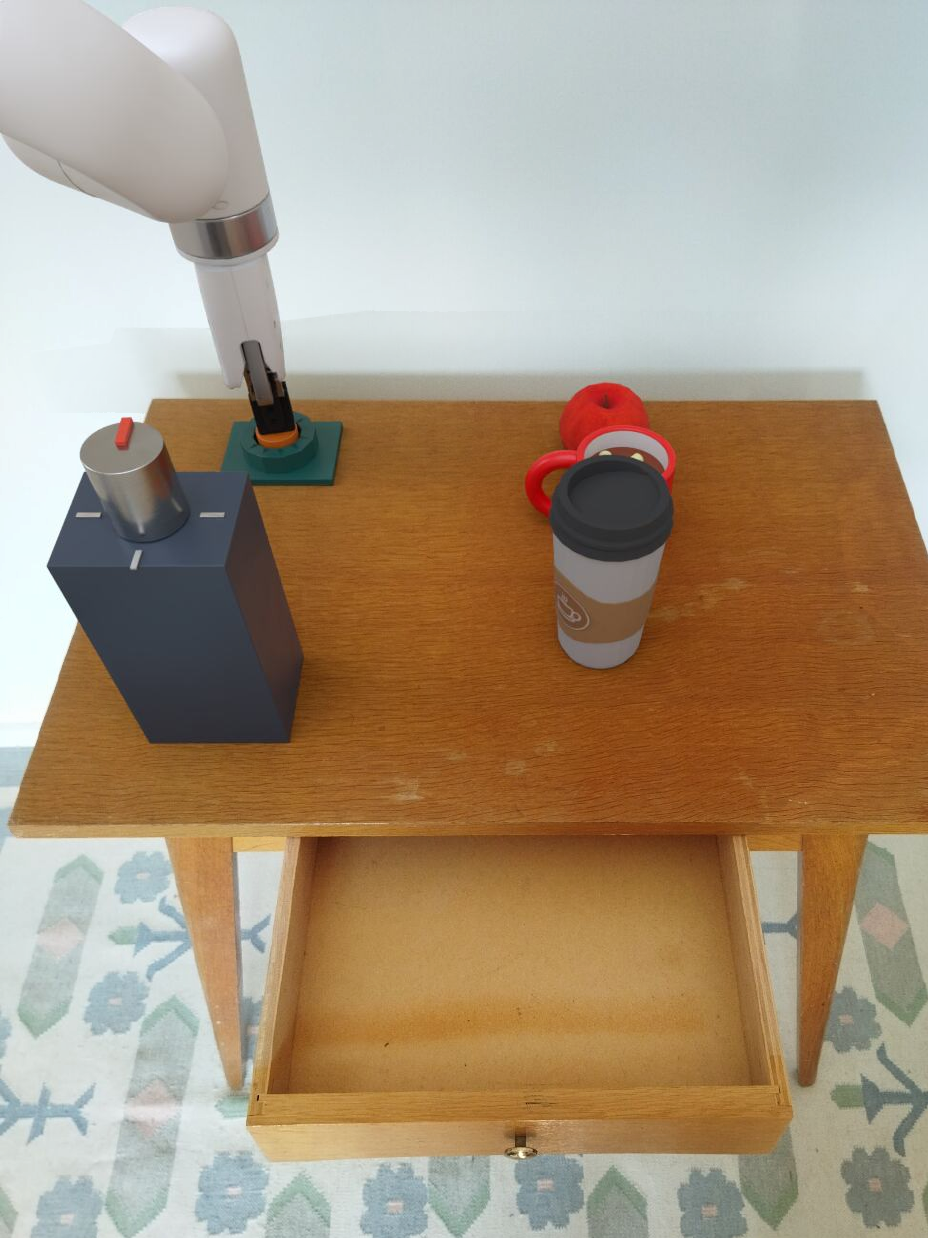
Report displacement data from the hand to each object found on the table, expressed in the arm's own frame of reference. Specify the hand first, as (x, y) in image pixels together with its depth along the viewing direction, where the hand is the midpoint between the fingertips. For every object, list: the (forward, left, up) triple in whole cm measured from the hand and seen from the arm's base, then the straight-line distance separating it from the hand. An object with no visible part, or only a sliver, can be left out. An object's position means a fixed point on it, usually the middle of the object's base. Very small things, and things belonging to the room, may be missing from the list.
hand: (277, 427), depth 83 cm
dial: (-6, -27, +15) cm, 31 cm away
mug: (+25, -16, -3) cm, 30 cm away
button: (0, 0, -2) cm, 2 cm away
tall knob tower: (-6, -27, -3) cm, 28 cm away
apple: (+28, -8, -3) cm, 29 cm away
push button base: (0, 0, -3) cm, 3 cm away
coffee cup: (+22, -28, -3) cm, 35 cm away
